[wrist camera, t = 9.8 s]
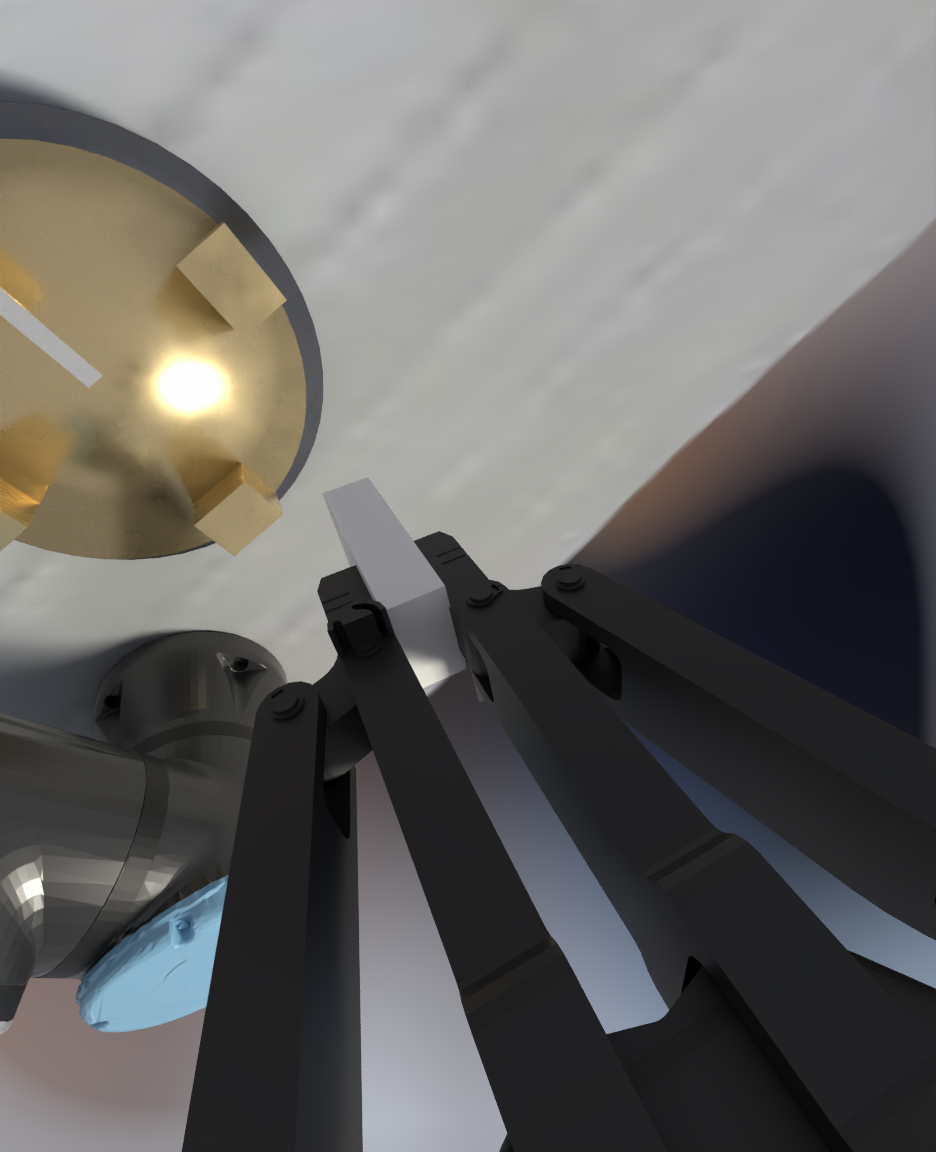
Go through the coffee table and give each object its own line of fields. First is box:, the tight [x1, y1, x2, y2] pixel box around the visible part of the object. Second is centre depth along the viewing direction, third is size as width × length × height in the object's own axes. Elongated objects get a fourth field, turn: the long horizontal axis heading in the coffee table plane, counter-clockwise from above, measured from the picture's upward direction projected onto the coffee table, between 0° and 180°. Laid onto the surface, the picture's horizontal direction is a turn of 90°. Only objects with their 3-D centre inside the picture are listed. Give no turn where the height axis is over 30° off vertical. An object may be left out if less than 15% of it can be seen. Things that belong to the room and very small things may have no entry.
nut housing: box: [0, 101, 323, 560], centre depth 32 cm, size 24×24×3 cm
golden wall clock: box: [0, 139, 306, 559], centre depth 29 cm, size 21×21×6 cm
